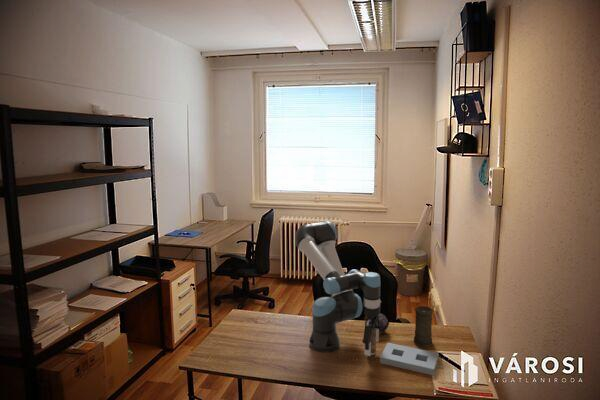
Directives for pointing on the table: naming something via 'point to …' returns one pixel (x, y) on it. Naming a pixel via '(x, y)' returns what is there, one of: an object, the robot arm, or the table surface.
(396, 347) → the board
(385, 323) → the rock
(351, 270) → the robot arm
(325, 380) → the table surface
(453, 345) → the table surface
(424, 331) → the container
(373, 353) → the walnut peg
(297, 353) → the table surface
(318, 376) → the table surface
